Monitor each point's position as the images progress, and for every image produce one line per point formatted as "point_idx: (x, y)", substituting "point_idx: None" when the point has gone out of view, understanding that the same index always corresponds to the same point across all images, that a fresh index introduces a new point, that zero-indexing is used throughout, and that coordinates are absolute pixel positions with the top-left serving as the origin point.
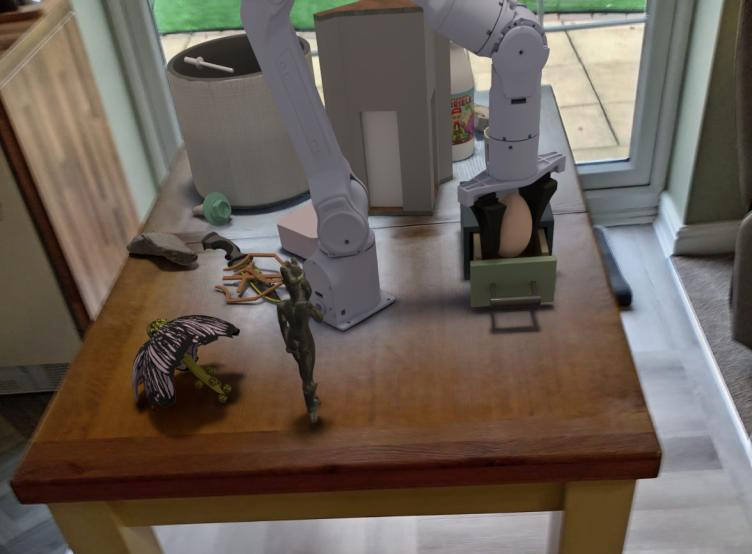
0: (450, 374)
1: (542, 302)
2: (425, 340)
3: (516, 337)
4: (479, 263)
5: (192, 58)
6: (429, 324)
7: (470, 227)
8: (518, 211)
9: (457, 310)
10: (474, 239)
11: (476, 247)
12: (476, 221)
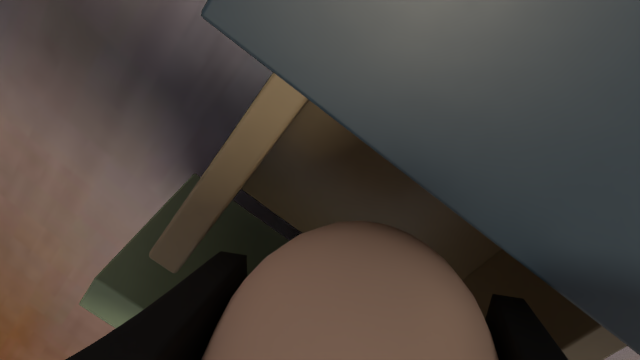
0: (24, 320)
1: None
2: (13, 187)
3: None
4: (121, 320)
5: None
6: (51, 134)
7: (250, 54)
8: None
9: (163, 137)
10: (245, 120)
11: (199, 198)
12: (334, 28)
